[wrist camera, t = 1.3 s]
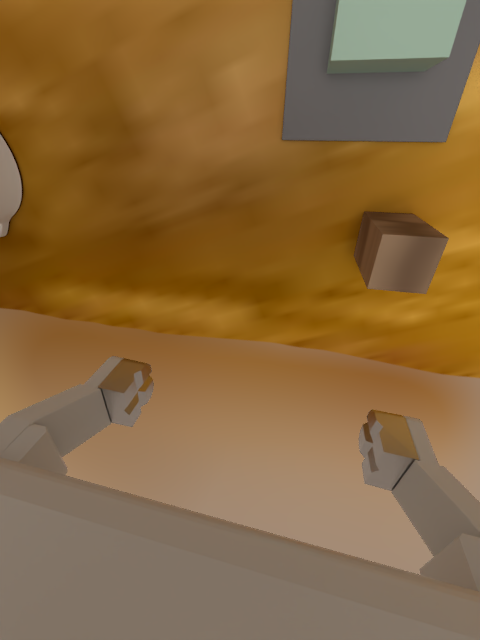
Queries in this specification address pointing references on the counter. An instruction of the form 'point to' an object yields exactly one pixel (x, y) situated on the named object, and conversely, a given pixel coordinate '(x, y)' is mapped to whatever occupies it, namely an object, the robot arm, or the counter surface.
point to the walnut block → (398, 252)
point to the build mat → (370, 86)
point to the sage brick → (392, 35)
